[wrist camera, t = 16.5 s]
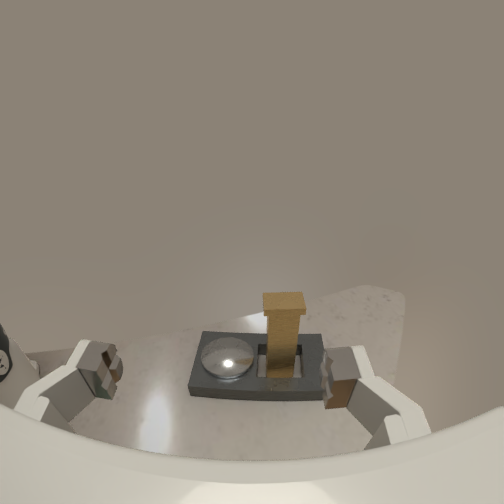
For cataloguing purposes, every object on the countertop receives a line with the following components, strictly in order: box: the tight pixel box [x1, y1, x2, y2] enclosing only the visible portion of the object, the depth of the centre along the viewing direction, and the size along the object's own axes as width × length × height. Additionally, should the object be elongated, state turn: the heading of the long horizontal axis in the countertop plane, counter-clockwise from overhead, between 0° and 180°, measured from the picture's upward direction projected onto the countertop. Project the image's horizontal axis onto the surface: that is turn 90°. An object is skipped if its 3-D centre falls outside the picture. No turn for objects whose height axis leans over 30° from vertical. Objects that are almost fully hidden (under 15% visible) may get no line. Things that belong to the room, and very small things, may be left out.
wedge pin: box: [263, 292, 306, 378], centre depth 40 cm, size 5×4×14 cm
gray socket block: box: [188, 331, 324, 401], centre depth 43 cm, size 20×12×3 cm, turn 87°
